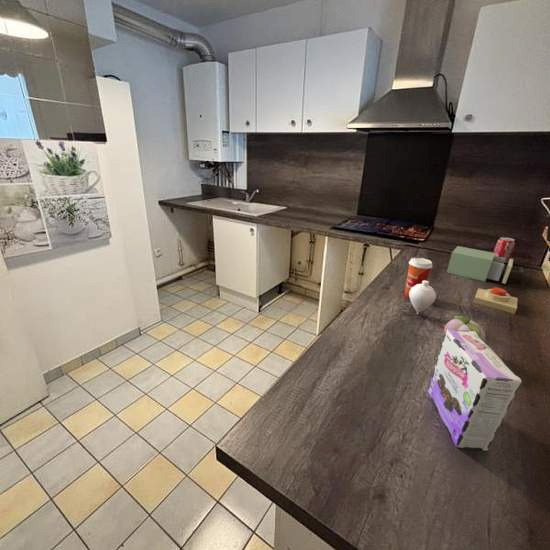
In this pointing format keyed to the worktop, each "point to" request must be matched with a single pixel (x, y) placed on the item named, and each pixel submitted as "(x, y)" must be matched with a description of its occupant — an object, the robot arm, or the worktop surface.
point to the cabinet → (470, 263)
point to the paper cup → (417, 273)
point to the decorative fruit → (465, 326)
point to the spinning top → (422, 296)
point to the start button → (498, 291)
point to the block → (496, 300)
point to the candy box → (471, 389)
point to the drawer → (498, 267)
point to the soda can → (504, 248)
